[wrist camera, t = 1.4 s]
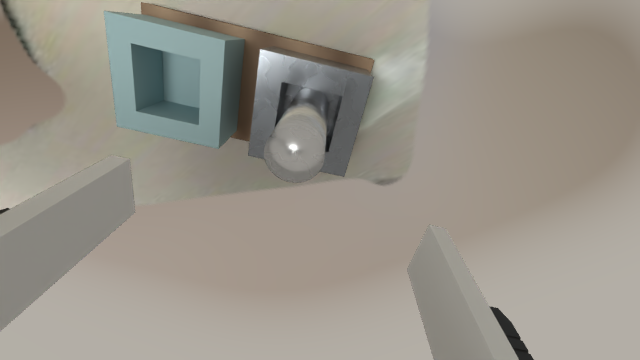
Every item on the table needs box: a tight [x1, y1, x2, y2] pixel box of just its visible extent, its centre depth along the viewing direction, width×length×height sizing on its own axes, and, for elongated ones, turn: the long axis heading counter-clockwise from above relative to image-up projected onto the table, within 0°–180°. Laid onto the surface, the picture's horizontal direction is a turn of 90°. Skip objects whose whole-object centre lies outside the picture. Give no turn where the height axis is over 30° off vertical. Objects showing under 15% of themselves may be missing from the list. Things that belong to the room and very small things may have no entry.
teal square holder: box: [104, 11, 245, 149], centre depth 29 cm, size 10×10×6 cm
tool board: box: [141, 2, 374, 141], centre depth 32 cm, size 24×12×2 cm, turn 77°
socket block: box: [248, 46, 374, 177], centre depth 29 cm, size 10×10×6 cm
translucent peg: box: [264, 88, 329, 183], centre depth 25 cm, size 4×4×14 cm
